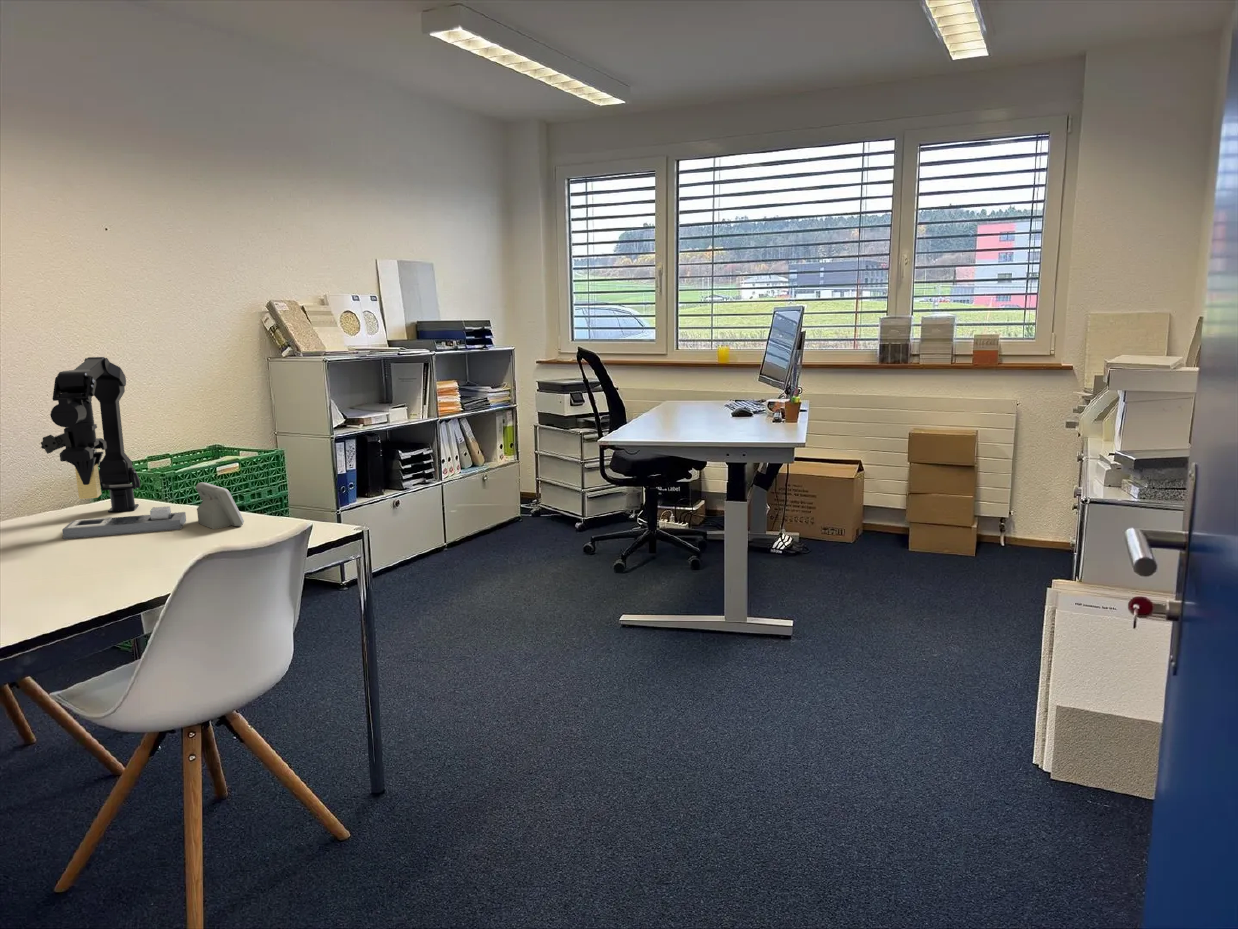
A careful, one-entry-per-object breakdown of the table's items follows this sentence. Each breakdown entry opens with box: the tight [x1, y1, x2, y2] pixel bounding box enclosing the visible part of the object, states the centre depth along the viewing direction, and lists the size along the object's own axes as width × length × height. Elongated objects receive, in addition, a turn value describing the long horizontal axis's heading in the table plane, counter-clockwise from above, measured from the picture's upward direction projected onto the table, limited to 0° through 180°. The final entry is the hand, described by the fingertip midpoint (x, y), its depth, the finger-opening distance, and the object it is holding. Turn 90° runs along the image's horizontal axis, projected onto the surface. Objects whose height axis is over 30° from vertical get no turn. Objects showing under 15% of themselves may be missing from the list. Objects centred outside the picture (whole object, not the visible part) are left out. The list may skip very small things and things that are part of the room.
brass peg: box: [74, 464, 102, 500], centre depth 203 cm, size 4×4×8 cm
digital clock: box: [195, 481, 245, 530], centre depth 213 cm, size 16×9×11 cm, turn 38°
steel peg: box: [149, 505, 172, 521], centre depth 211 cm, size 4×4×5 cm
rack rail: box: [62, 511, 187, 540], centre depth 208 cm, size 9×26×3 cm, turn 110°
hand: (88, 483), depth 204 cm, fingers closed on brass peg, 4 cm apart
